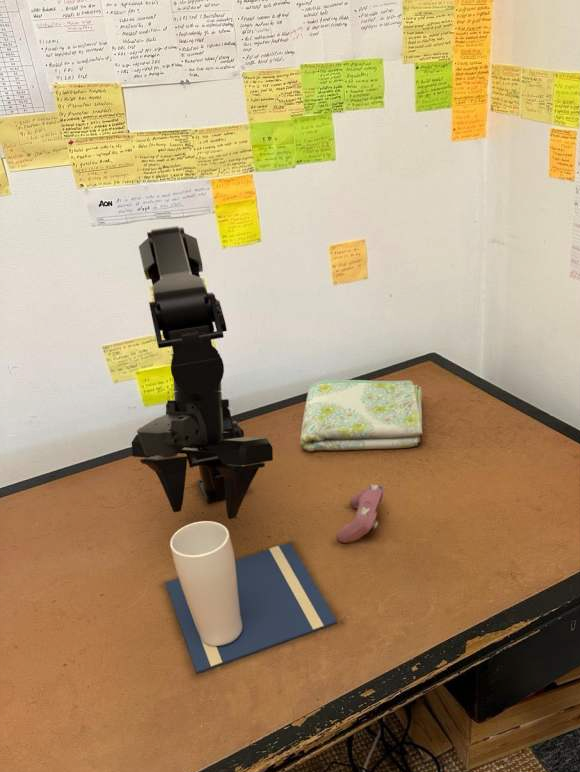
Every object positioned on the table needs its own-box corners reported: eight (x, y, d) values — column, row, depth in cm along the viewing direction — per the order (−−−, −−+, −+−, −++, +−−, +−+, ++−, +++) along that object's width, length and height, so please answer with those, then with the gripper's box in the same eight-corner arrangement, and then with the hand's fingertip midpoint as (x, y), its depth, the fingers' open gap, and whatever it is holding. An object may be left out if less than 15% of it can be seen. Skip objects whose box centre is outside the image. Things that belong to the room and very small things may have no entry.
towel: (425, 449, 126) (424, 423, 123) (300, 454, 127) (296, 428, 124) (422, 398, 141) (421, 374, 138) (310, 403, 141) (307, 379, 138)
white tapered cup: (224, 660, 89) (201, 564, 80) (182, 640, 92) (156, 545, 83) (260, 625, 94) (242, 530, 85) (219, 607, 97) (197, 513, 88)
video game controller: (361, 555, 107) (380, 522, 103) (332, 541, 106) (350, 507, 102) (375, 514, 115) (394, 481, 110) (349, 501, 114) (366, 468, 110)
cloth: (166, 584, 102) (165, 581, 101) (290, 544, 107) (290, 541, 107) (196, 674, 88) (195, 671, 88) (337, 623, 94) (337, 620, 94)
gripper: (92, 392, 90) (102, 519, 93) (210, 395, 81) (217, 535, 84) (161, 389, 100) (167, 504, 103) (273, 392, 91) (277, 518, 94)
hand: (203, 515), depth 95 cm, fingers open, 9 cm apart
